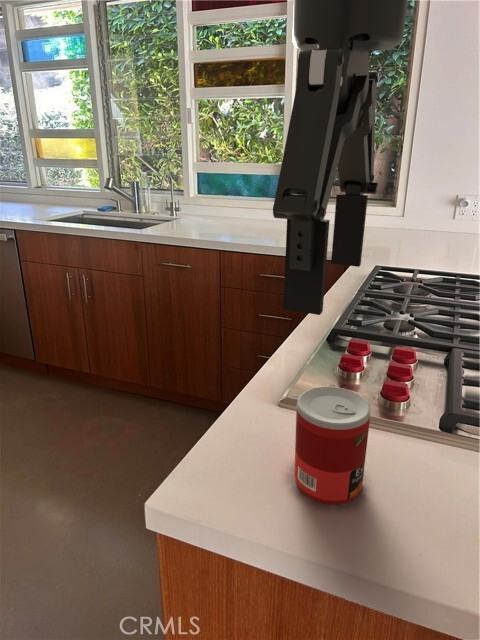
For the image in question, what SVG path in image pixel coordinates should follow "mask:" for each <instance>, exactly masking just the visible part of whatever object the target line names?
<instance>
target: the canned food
mask: <svg viewBox="0 0 480 640" xmlns="http://www.w3.org/2000/svg"><path fill="white" fill-rule="evenodd" d="M370 420H371V407H370V404H369V402H368V401H367V400H366V398H365V397H363V396H362V395H361V394H358V393H356V392H355V391H353V390H350V389H347V388H343V387H337V386H317V387H313V388H310V389H309V388H308V389H307V390H305V391H304V392H302V393H300V395H299V396H298V398H297V403H296V414H295V439H294V440H295V442H294V446H295V447H294V473H293V475H294V480H295V483H296V485H297V488H298V489H299V491H300V492H301V493H302V494H303V495H305V496H306V497H307V498H309V499H311V500H313V501H315V502H317V503H319V504H320V503H321V504H326V505H342V504H347V503H349V502H351V501H353V500H354V499H355V498H356V497H358V495H359V493H360V491H361V490H362V488H363V481H364V473H365V465H366V456H367V448H368V440H369V439H368V438H369V430H370V423H371V422H370Z"/></svg>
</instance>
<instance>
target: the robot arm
mask: <svg viewBox="0 0 480 640" xmlns="http://www.w3.org/2000/svg"><path fill="white" fill-rule="evenodd" d="M407 9H408V0H293V12H292V13H293V14H292V43H293V45H294V47H295V48H296V49H298V50H299V53H298V58H297V69H296V70H297V71H296V82H295V83H296V84H295V92H294V98H293V103H292V107H291V113H290V119H289V125H288V129H287V133H286V139H285V144H284V150H283V155H282V160H281V166H280V171H279V177H278V182H277V186H276V193H275V197H274V201H273V204H272V216H273V218H274V219H282V220H286V234H285V258H284V280H283V281H284V283H283V310H285V311H293V312H297V313H298V312H299V313H304V314H311V315H317V316H321V314H323V311H324V299H325V286H326V271H327V260H328V248H329V247H328V245H329V233H330V232H329V231H330V219H326V218H325V217H326V216H327V209H328V204H329V201H330V197H331V193H332V189H333V186H334V183H335V178H336V174H337V173H338V180H339V181H338V182H339V189H340V193H337V194H336V196H335V207H334V219H333V220H334V221H333V233H332V245H331V246H332V247H331V258H330V259H331V260H330V263H331V264H332V265H333V264H334V265H341V266H348V267H357V268H360V266H361V265H362V258H363V257H362V255H363V245H364V237H365V228H366V227H365V225H366V219H367V209H368V199H369V195H376V194H377V192H378V187H379V186H378V185H379V182H374V181H375V140H376V139H375V137H376V136H375V134H376V101H377V90H378V89H377V88H378V87H377V86H378V83H379V75H378V70H370V61H369V60H370V56H371V54H372V53H374V52H376V51H380V52H381V51H386V50H390V49H393V48H395V47H396V46H398V45H399V44H400V43H401V42H402V40H403V38H404V34H405V26H406V19H407Z"/></svg>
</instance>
